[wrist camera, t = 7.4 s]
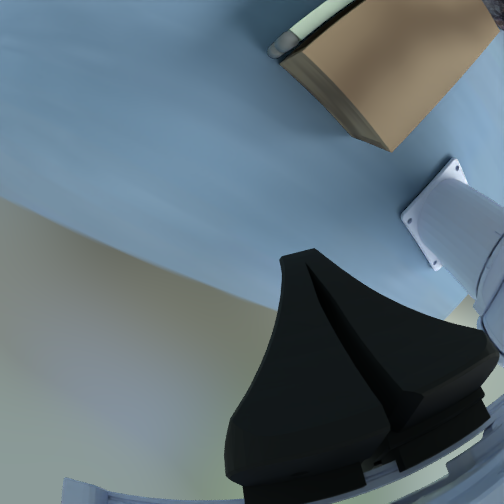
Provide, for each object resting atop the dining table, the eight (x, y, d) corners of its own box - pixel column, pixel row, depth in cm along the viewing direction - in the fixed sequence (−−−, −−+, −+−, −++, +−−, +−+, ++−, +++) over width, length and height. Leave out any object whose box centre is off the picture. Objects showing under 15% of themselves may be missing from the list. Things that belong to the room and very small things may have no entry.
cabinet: (457, 31, 12) (499, 31, 7) (351, 136, 17) (391, 152, 13) (407, -32, 9) (446, -47, 4) (279, 64, 14) (302, 51, 10)
